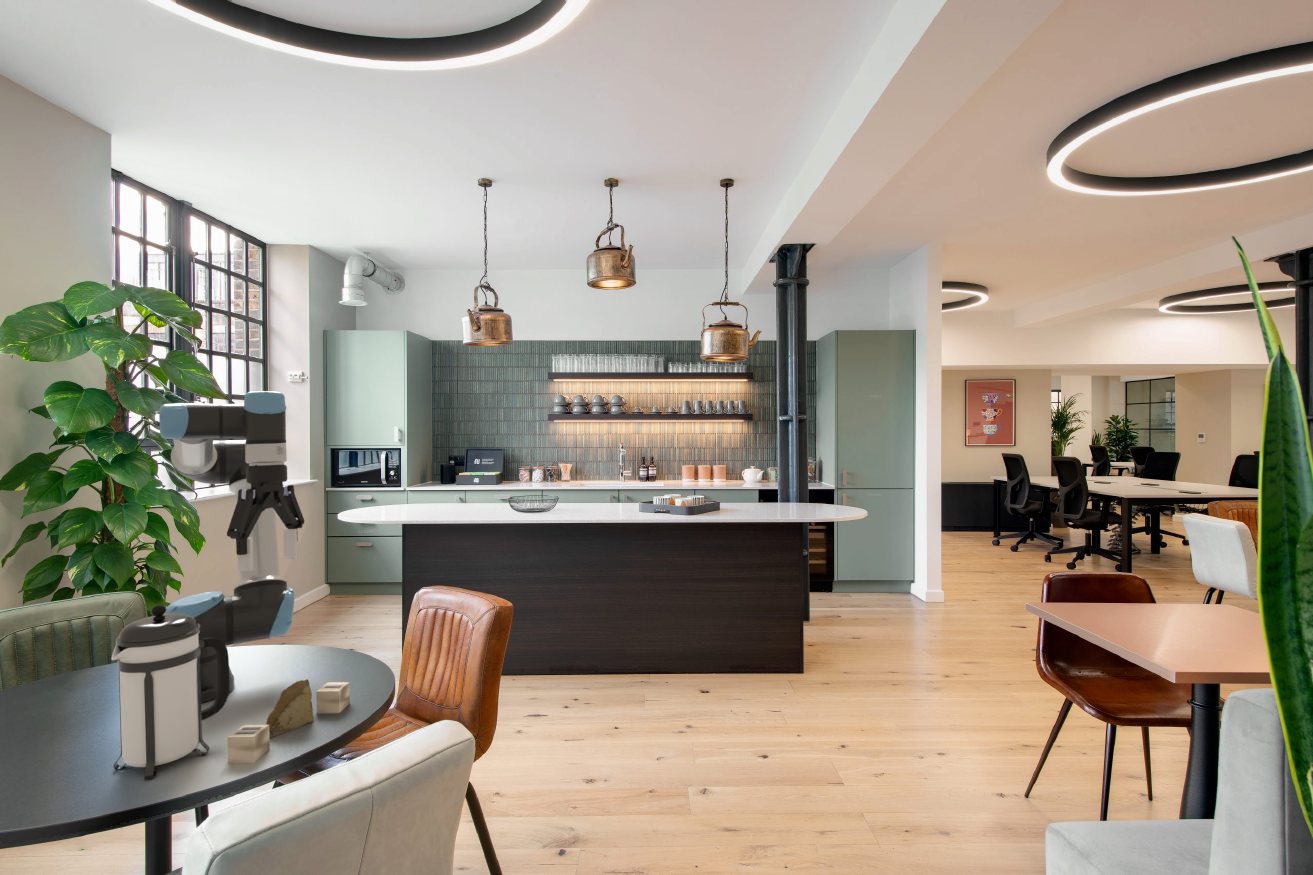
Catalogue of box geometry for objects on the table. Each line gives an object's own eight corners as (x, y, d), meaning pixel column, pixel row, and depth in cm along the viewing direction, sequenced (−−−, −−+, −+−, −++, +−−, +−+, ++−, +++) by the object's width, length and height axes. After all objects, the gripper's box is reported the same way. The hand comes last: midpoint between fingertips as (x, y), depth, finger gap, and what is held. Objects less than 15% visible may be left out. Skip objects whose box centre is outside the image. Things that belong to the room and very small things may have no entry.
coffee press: (199, 773, 120) (195, 611, 119) (94, 788, 115) (89, 619, 115) (231, 731, 136) (228, 588, 136) (141, 742, 132) (137, 595, 131)
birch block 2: (327, 704, 150) (327, 682, 150) (349, 703, 150) (349, 681, 150) (316, 713, 145) (316, 690, 145) (339, 713, 145) (338, 690, 145)
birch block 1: (244, 750, 129) (243, 724, 129) (269, 749, 129) (269, 724, 129) (227, 763, 124) (227, 736, 124) (254, 762, 124) (253, 736, 124)
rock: (261, 735, 130) (316, 716, 135) (254, 693, 133) (308, 676, 139) (265, 748, 138) (317, 729, 143) (258, 709, 141) (310, 692, 147)
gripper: (239, 466, 126) (241, 576, 126) (319, 461, 151) (322, 553, 151) (203, 467, 127) (206, 576, 127) (289, 462, 152) (292, 554, 151)
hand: (269, 564), depth 139 cm, fingers open, 13 cm apart
